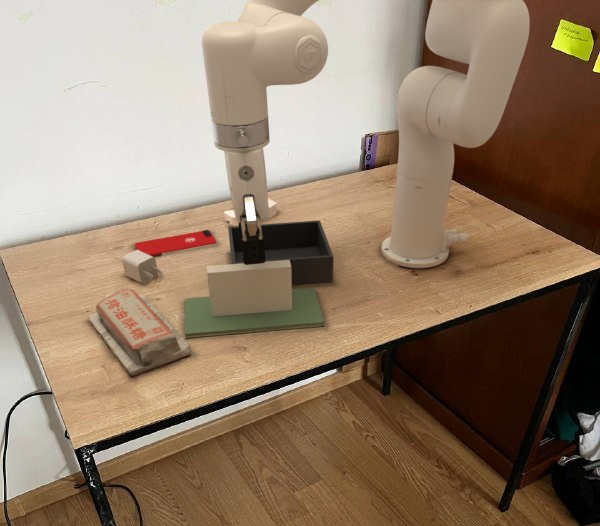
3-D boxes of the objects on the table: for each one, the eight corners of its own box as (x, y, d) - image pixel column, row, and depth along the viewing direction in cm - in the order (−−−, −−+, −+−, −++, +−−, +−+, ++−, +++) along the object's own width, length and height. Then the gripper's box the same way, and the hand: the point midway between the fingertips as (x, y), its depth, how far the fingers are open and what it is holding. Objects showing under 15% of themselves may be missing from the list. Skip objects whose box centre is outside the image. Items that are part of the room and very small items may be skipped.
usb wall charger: (143, 268, 113) (139, 248, 110) (168, 280, 110) (164, 260, 107) (125, 277, 111) (121, 257, 108) (150, 289, 107) (146, 269, 105)
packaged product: (189, 328, 90) (124, 352, 86) (193, 355, 93) (131, 379, 89) (140, 277, 101) (81, 295, 97) (145, 302, 104) (88, 321, 100)
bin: (319, 247, 119) (320, 220, 115) (332, 284, 108) (333, 256, 104) (230, 253, 117) (228, 226, 113) (234, 292, 106) (232, 264, 103)
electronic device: (139, 258, 116) (217, 244, 120) (139, 256, 115) (216, 241, 119) (134, 245, 120) (209, 231, 124) (133, 242, 119) (208, 229, 123)
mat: (314, 292, 106) (314, 287, 106) (324, 327, 98) (324, 321, 98) (186, 303, 104) (185, 298, 103) (185, 339, 96) (185, 333, 96)
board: (290, 303, 102) (289, 259, 97) (292, 310, 100) (291, 266, 95) (211, 309, 101) (206, 265, 95) (212, 316, 99) (206, 272, 94)
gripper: (275, 152, 76) (283, 273, 87) (262, 108, 89) (270, 219, 100) (215, 157, 75) (230, 279, 87) (210, 112, 88) (224, 223, 100)
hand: (252, 247), depth 94 cm, fingers open, 9 cm apart
